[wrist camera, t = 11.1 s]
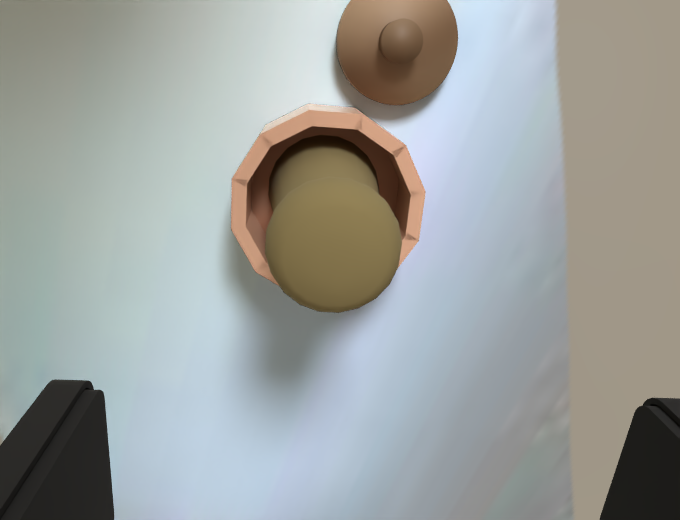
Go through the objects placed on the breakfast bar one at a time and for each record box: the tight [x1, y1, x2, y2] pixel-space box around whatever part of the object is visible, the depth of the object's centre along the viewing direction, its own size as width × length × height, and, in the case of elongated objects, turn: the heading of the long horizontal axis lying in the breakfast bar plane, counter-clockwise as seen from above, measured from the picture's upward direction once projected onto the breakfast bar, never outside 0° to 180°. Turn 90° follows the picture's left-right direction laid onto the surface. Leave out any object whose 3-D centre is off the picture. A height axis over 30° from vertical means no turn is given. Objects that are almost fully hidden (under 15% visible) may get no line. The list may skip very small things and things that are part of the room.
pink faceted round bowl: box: [231, 104, 425, 286], centre depth 28 cm, size 9×9×4 cm
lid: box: [336, 0, 458, 105], centre depth 27 cm, size 6×6×2 cm
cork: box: [265, 135, 402, 313], centre depth 24 cm, size 6×6×11 cm
